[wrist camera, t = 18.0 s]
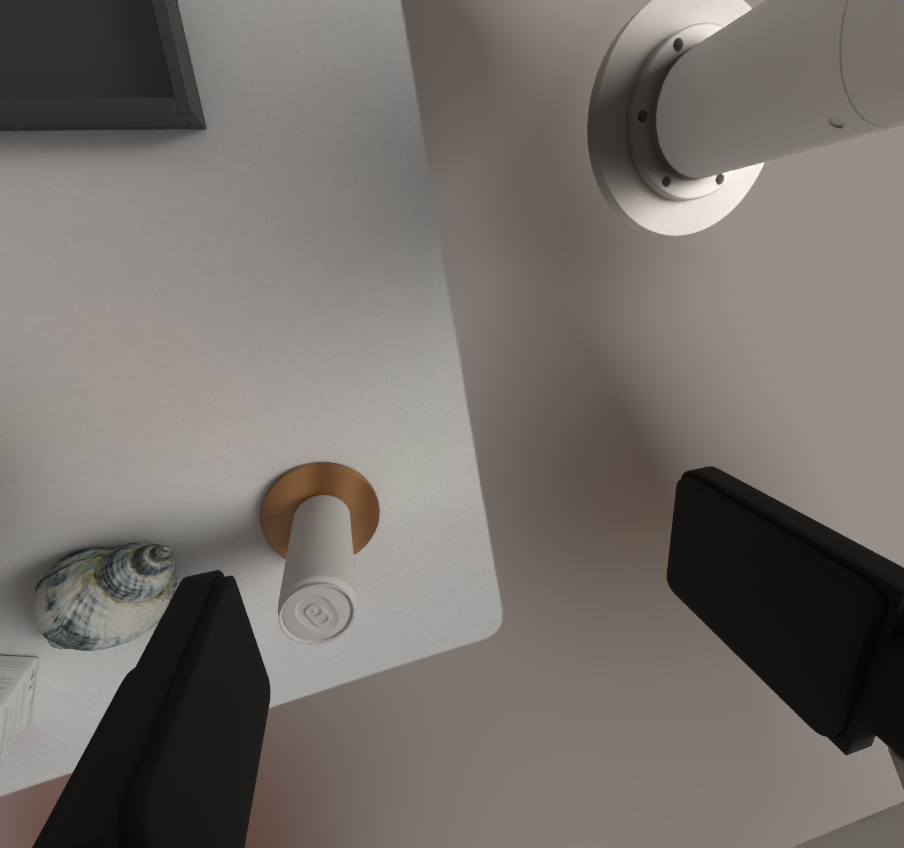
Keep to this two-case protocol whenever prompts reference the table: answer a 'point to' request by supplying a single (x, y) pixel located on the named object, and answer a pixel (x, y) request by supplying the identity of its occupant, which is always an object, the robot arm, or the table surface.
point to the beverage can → (318, 573)
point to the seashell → (104, 596)
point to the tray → (95, 66)
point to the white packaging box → (15, 698)
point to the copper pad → (314, 483)
